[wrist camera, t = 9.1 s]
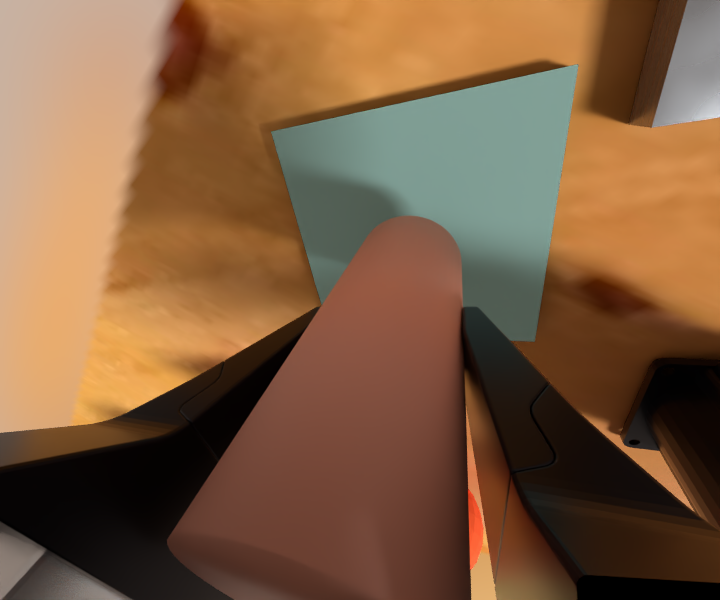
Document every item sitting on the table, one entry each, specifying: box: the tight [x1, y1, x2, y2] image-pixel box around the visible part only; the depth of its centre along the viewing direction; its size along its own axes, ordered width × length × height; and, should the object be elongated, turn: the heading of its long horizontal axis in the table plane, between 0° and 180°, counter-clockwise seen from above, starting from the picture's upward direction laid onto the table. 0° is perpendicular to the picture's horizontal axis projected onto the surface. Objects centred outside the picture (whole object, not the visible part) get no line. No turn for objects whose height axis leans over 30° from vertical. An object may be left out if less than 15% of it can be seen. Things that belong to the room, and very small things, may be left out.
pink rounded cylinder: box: [167, 216, 471, 600], centre depth 8 cm, size 4×4×10 cm
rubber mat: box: [271, 64, 578, 342], centre depth 14 cm, size 11×11×1 cm
